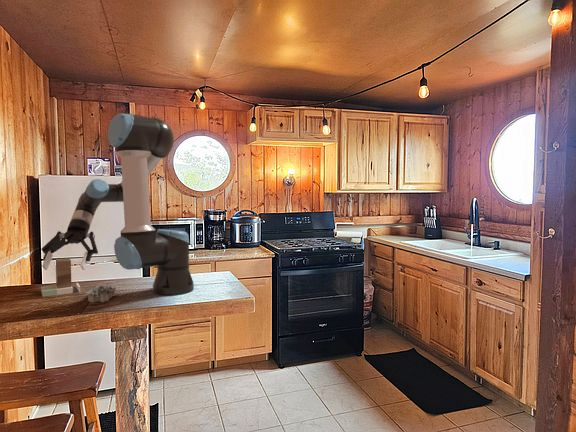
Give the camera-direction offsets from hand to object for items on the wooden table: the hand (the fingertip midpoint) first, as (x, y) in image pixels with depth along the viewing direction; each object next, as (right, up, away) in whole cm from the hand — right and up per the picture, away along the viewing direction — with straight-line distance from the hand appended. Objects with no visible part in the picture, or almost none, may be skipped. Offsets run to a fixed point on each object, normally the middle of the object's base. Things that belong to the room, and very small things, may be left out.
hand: (63, 268), depth 148 cm
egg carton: (+18, -10, -8) cm, 22 cm away
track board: (0, -9, -1) cm, 9 cm away
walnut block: (+1, -7, -1) cm, 7 cm away
